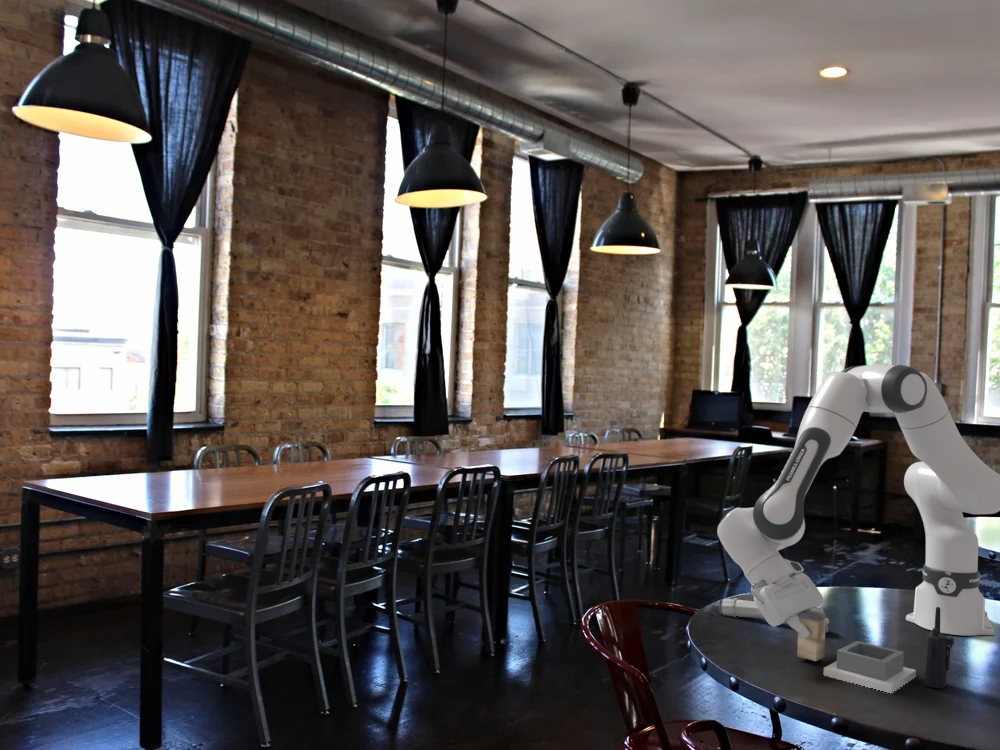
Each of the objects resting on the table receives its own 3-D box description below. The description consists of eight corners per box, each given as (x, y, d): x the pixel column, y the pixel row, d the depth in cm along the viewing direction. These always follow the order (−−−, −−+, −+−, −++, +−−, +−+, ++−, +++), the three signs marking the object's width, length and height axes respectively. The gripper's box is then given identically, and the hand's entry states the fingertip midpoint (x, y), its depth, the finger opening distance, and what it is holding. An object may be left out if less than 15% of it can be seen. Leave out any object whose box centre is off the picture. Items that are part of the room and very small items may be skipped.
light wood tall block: (805, 652, 186) (807, 609, 185) (824, 656, 183) (825, 613, 183) (797, 656, 183) (798, 613, 183) (815, 661, 180) (817, 617, 180)
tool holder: (850, 660, 184) (851, 636, 183) (915, 677, 175) (916, 652, 174) (823, 675, 174) (824, 650, 174) (890, 694, 165) (891, 667, 165)
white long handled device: (725, 596, 218) (829, 600, 204) (727, 623, 218) (832, 629, 204) (717, 600, 214) (823, 605, 200) (720, 628, 214) (826, 634, 199)
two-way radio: (928, 679, 174) (931, 603, 173) (954, 684, 171) (956, 607, 171) (923, 687, 169) (926, 609, 169) (949, 693, 167) (952, 614, 166)
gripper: (758, 576, 180) (802, 635, 173) (803, 562, 195) (845, 615, 188) (737, 594, 183) (780, 652, 176) (783, 578, 198) (824, 631, 191)
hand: (814, 633), depth 182 cm, fingers closed on light wood tall block, 4 cm apart
